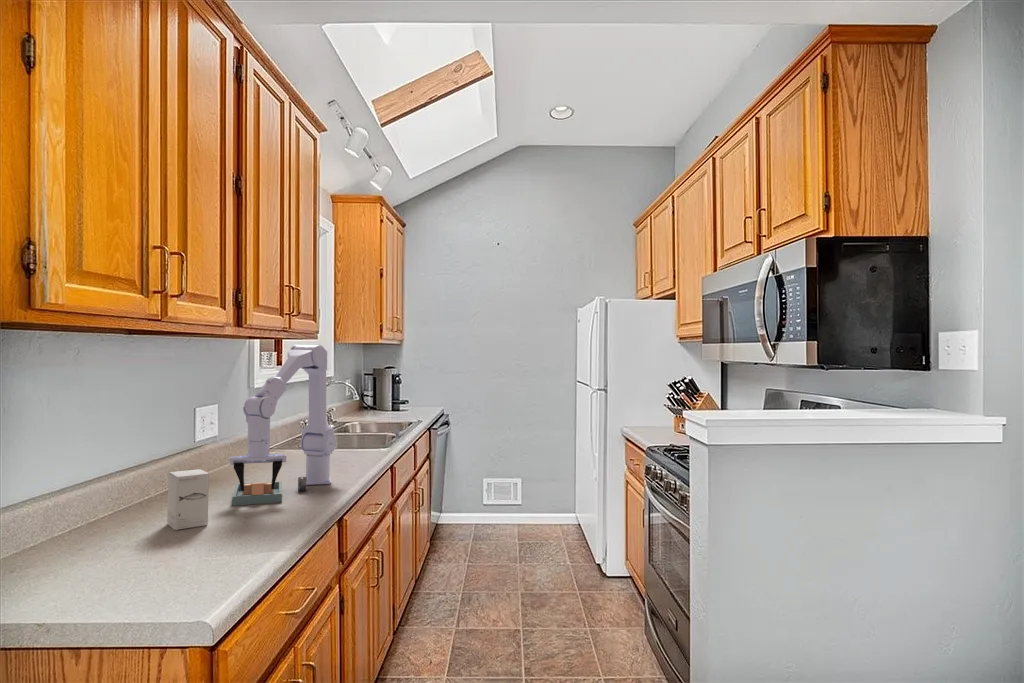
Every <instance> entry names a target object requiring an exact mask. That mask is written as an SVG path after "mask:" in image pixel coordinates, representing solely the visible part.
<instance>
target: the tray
mask: <svg viewBox="0 0 1024 683" xmlns="http://www.w3.org/2000/svg"><path fill="white" fill-rule="evenodd" d="M252 483H253V482H244V484H252ZM260 483H272V481H267V482H266V481H264V482H260ZM231 499H232V501H231V505H232V506H243V505H245V506H246V505H259V504H260V505H261V504H275V503H283V481H282V480H281V481H275V485H274V489H273V493H264V494H263V495H252V494H247V495H242V491H241V486H240V483H236V484H235V487H234V489H233V492H232V497H231Z"/></svg>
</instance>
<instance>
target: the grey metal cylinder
mask: <svg viewBox="0 0 1024 683" xmlns="http://www.w3.org/2000/svg"><path fill="white" fill-rule="evenodd" d="M306 482H307V477H306V476H298V478H297V492H298V493H305V492H307V485H306Z"/></svg>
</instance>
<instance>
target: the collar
mask: <svg viewBox="0 0 1024 683" xmlns="http://www.w3.org/2000/svg"><path fill="white" fill-rule="evenodd" d="M251 483H252V484H244V491H242V495H247V494H252V495H263V494H264V493H273V489H271V484H272V483H261V482H251Z"/></svg>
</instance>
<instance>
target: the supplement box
mask: <svg viewBox="0 0 1024 683" xmlns="http://www.w3.org/2000/svg"><path fill="white" fill-rule="evenodd" d="M167 481H168V483H167V484H168V485H167V520H166V521H167V525H168V526H169V527H170V528H171V529H173V530H174V531H179V530H182V529H183V530H184V529H191V528H198V527H205V526H208V524H209V486H210V484H209V483H210V473H209V472H207V471H205V470H203V469H192V470H189V469H188V470H180V471H178V470H177V471H170V472H168V480H167Z"/></svg>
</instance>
